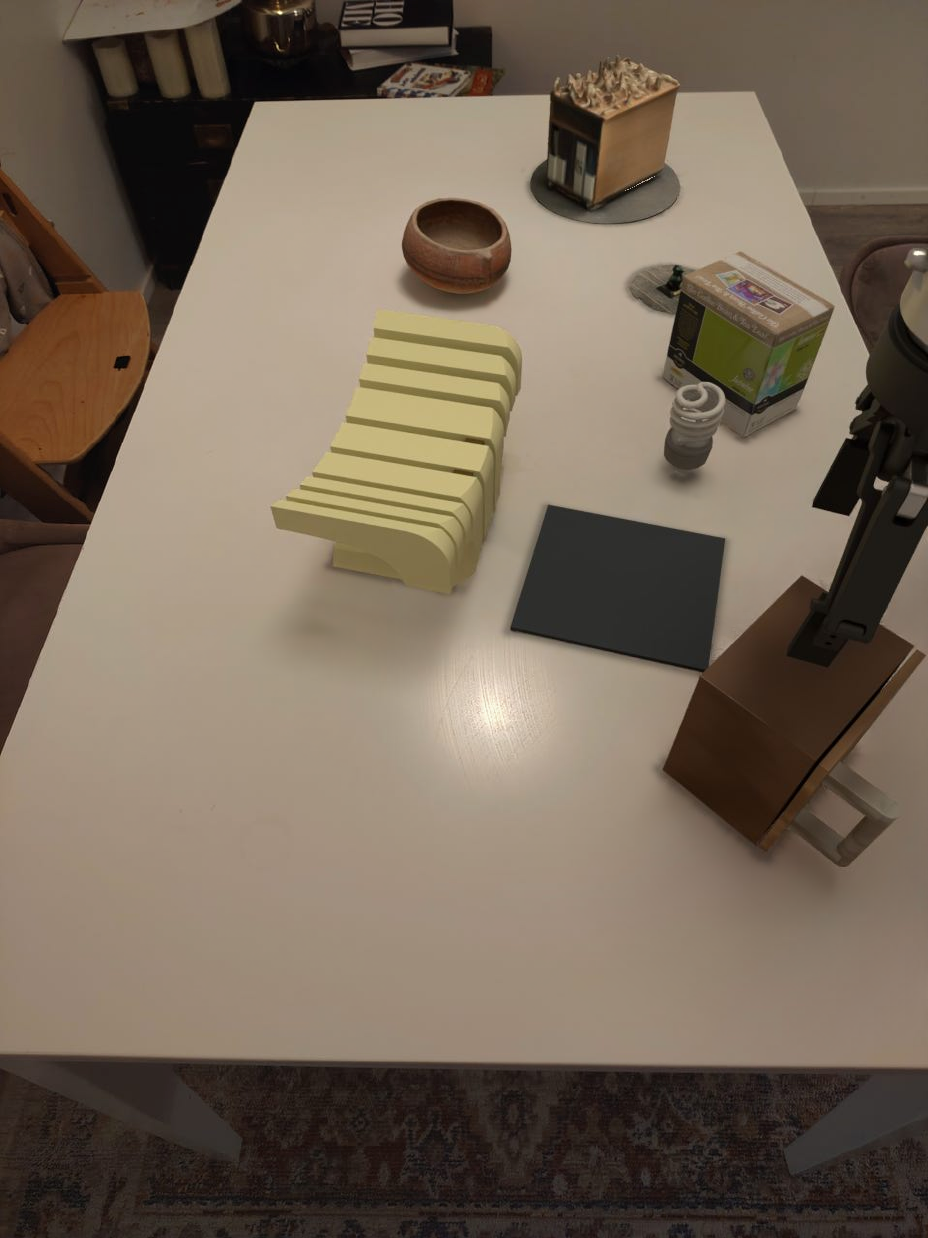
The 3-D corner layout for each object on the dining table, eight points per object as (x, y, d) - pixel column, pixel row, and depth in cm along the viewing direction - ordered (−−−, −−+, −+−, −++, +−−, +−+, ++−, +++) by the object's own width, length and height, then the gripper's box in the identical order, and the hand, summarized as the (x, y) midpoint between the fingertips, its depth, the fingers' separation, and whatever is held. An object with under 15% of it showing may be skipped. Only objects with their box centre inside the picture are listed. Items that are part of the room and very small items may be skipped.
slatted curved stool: (453, 657, 83) (448, 538, 69) (305, 626, 85) (270, 505, 71) (517, 458, 100) (523, 329, 86) (391, 437, 103) (377, 308, 88)
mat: (724, 541, 92) (725, 538, 91) (706, 673, 81) (708, 670, 81) (547, 507, 95) (548, 504, 95) (510, 630, 85) (510, 626, 84)
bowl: (491, 320, 117) (492, 253, 109) (389, 301, 120) (382, 234, 112) (523, 262, 126) (526, 196, 118) (426, 246, 129) (423, 180, 121)
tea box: (798, 409, 105) (839, 304, 93) (742, 440, 101) (777, 335, 89) (714, 350, 112) (742, 246, 100) (658, 377, 109) (680, 273, 97)
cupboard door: (905, 787, 74) (994, 697, 61) (820, 898, 68) (898, 823, 55) (844, 744, 76) (917, 648, 64) (758, 847, 71) (818, 764, 58)
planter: (668, 232, 130) (693, 102, 115) (514, 212, 134) (519, 83, 119) (688, 160, 144) (712, 35, 129) (548, 143, 149) (556, 21, 134)
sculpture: (700, 322, 116) (672, 276, 113) (647, 345, 123) (618, 302, 120) (723, 274, 122) (697, 228, 118) (671, 298, 129) (645, 256, 125)
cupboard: (841, 743, 77) (914, 645, 64) (755, 845, 71) (816, 761, 58) (750, 678, 81) (801, 574, 68) (662, 769, 75) (699, 675, 62)
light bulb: (670, 448, 101) (690, 365, 91) (712, 466, 99) (738, 384, 89) (648, 475, 98) (667, 393, 88) (691, 494, 96) (715, 412, 86)
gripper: (909, 179, 47) (790, 443, 65) (870, 491, 35) (736, 713, 53) (1050, 203, 46) (889, 466, 64) (1062, 538, 33) (857, 749, 51)
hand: (819, 578), depth 58 cm, fingers open, 13 cm apart
